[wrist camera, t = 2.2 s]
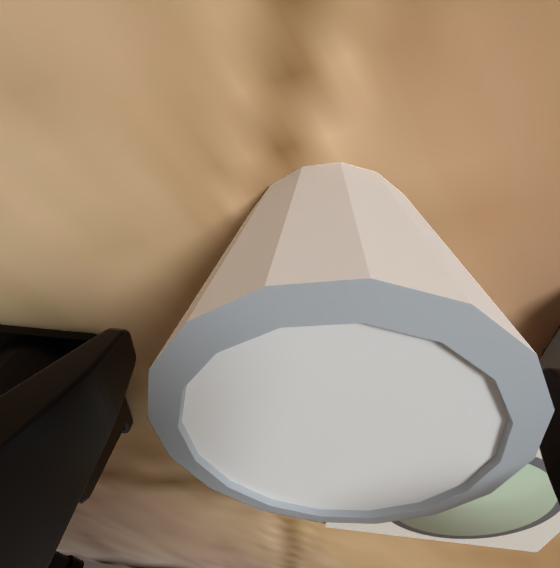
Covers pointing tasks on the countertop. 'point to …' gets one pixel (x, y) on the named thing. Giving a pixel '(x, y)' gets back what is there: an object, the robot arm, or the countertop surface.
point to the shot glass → (346, 363)
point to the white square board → (489, 516)
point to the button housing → (552, 353)
